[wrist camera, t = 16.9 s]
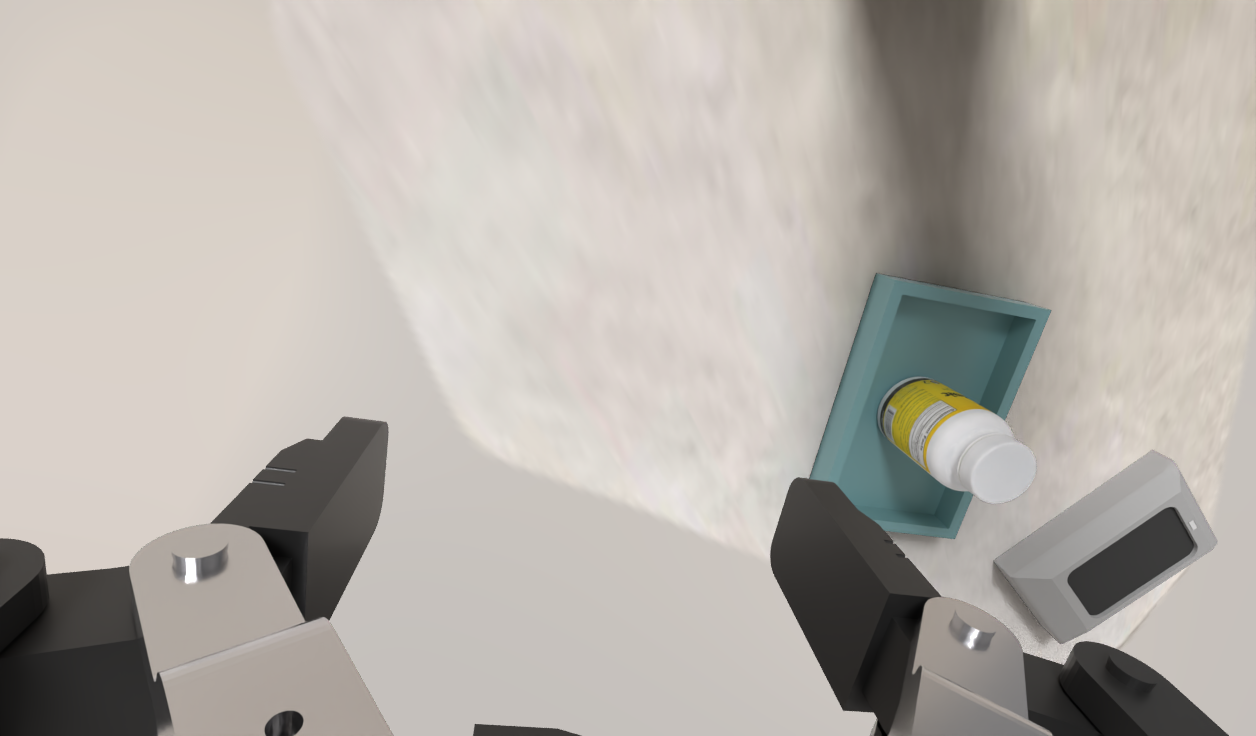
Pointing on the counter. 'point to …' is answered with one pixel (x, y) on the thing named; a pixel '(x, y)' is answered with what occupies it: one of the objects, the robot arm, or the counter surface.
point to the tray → (920, 347)
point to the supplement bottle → (956, 440)
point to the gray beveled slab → (1109, 548)
